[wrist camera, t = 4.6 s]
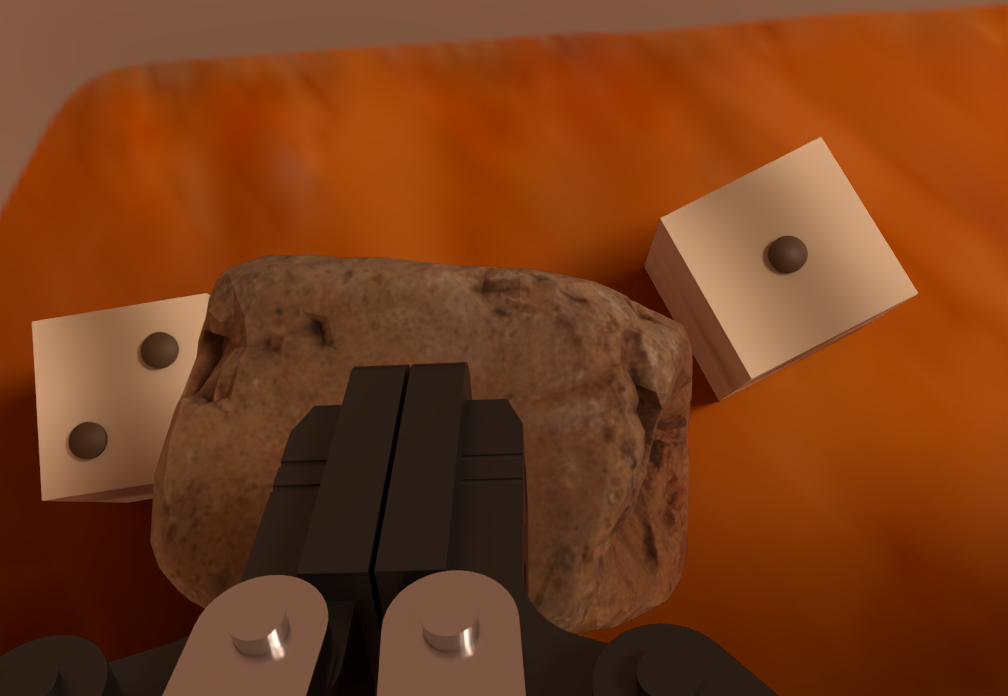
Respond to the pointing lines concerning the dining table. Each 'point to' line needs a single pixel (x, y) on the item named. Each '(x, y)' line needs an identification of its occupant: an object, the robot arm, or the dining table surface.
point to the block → (493, 375)
